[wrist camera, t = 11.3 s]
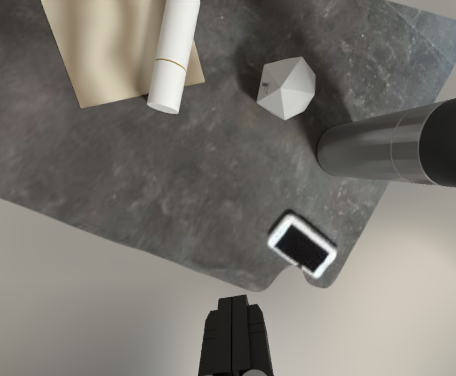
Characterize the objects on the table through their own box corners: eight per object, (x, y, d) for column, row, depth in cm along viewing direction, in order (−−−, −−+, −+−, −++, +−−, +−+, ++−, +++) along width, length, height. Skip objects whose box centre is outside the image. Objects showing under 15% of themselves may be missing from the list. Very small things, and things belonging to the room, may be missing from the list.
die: (271, 58, 36) (256, 47, 28) (324, 66, 34) (325, 56, 25) (260, 110, 39) (243, 113, 31) (307, 120, 37) (303, 126, 29)
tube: (180, 110, 29) (203, -5, 28) (147, 100, 27) (170, -23, 26) (176, 115, 33) (196, 14, 32) (146, 106, 31) (166, 0, 30)
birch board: (177, -19, 31) (177, -21, 31) (204, 82, 33) (204, 81, 33) (41, -2, 28) (39, -4, 28) (81, 108, 30) (80, 107, 30)
